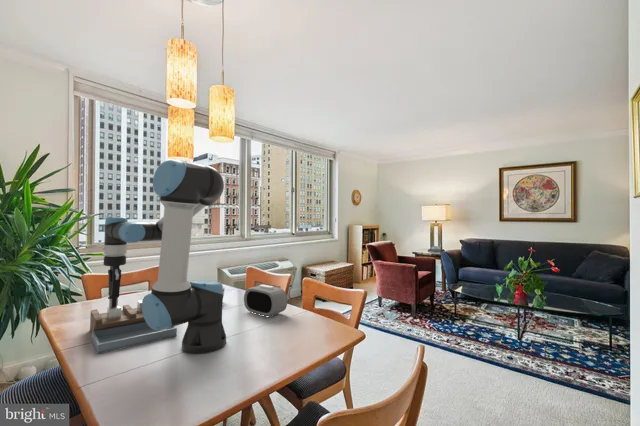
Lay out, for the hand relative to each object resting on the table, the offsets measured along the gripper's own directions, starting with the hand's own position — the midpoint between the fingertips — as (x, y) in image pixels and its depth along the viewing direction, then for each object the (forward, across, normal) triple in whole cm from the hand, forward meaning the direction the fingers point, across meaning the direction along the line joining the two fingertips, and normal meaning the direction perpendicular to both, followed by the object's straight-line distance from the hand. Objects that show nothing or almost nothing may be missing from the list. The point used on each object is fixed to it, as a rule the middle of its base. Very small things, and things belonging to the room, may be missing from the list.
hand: (112, 314), depth 121 cm
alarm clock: (+7, +18, +60) cm, 63 cm away
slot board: (+7, +1, +5) cm, 9 cm away
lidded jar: (+7, -14, +48) cm, 51 cm away
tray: (+7, +13, +6) cm, 16 cm away
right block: (+1, 0, +11) cm, 11 cm away
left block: (+1, +3, 0) cm, 3 cm away
